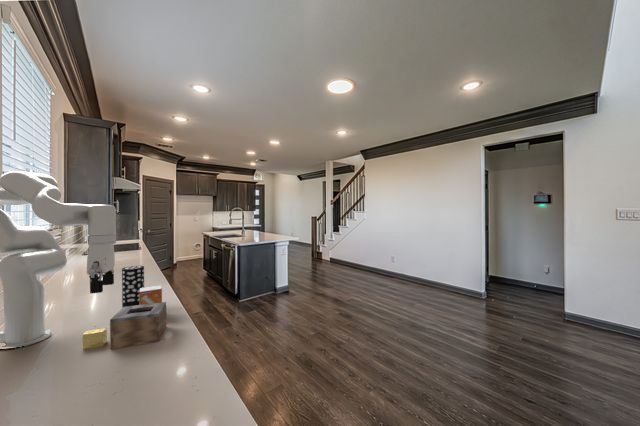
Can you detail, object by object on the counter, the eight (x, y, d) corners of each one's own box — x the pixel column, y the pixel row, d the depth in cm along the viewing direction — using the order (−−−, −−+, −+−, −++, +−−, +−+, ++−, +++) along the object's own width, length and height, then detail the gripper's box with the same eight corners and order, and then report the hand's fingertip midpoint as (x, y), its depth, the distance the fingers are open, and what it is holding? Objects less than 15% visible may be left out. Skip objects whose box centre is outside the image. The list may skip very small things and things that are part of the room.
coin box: (110, 349, 84) (110, 319, 84) (123, 333, 96) (123, 306, 95) (158, 341, 89) (158, 313, 89) (166, 326, 101) (166, 301, 100)
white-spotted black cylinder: (118, 312, 115) (117, 268, 115) (137, 305, 123) (136, 265, 123) (129, 315, 112) (129, 270, 112) (148, 308, 120) (148, 266, 120)
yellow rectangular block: (82, 349, 85) (82, 334, 84) (87, 344, 87) (87, 330, 87) (103, 346, 86) (103, 331, 86) (106, 341, 89) (106, 327, 89)
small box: (139, 323, 104) (138, 291, 104) (140, 317, 109) (139, 287, 109) (162, 318, 109) (162, 288, 108) (162, 313, 114) (161, 284, 114)
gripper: (99, 237, 95) (99, 283, 95) (75, 243, 79) (76, 297, 79) (123, 237, 98) (124, 281, 98) (105, 242, 82) (105, 294, 82)
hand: (102, 288), depth 88 cm, fingers open, 9 cm apart
